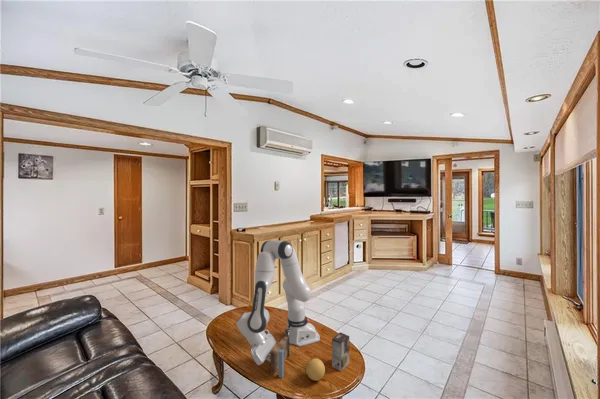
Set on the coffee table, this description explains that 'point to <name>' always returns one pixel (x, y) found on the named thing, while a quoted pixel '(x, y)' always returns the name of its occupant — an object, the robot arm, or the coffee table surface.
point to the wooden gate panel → (275, 354)
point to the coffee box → (340, 351)
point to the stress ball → (315, 369)
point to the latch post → (281, 363)
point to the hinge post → (287, 340)
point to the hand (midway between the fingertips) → (273, 360)
